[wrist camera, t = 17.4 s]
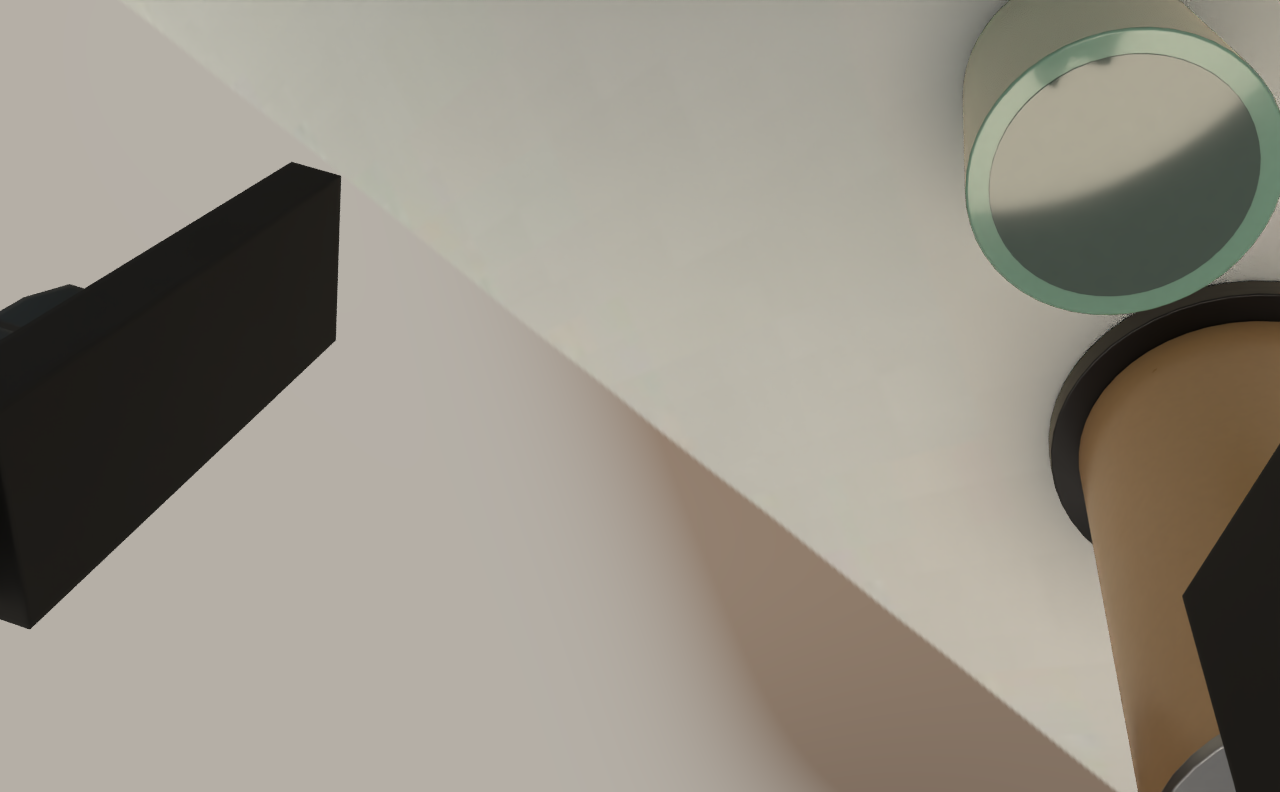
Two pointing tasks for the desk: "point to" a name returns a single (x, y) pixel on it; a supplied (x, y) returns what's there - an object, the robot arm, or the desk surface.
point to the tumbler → (1114, 152)
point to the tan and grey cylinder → (1168, 497)
